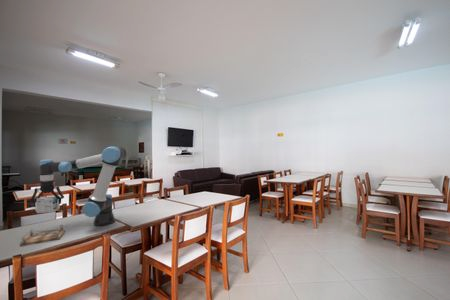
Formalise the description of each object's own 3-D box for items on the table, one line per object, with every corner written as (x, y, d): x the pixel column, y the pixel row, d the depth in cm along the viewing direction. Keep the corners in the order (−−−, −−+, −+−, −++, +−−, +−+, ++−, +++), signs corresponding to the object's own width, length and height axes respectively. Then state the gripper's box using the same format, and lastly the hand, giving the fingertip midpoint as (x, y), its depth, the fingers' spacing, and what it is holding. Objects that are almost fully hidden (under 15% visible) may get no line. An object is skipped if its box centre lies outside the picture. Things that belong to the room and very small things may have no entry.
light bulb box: (58, 209, 157) (58, 195, 157) (53, 212, 150) (52, 197, 150) (43, 210, 155) (42, 196, 155) (36, 213, 148) (36, 198, 148)
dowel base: (64, 231, 152) (64, 224, 152) (59, 239, 138) (59, 231, 138) (28, 237, 142) (28, 229, 142) (19, 246, 129) (19, 237, 129)
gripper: (68, 178, 161) (69, 205, 161) (27, 181, 150) (28, 210, 150) (66, 179, 154) (67, 208, 155) (23, 182, 143) (24, 213, 144)
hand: (48, 209), depth 152 cm, fingers closed on light bulb box, 12 cm apart
